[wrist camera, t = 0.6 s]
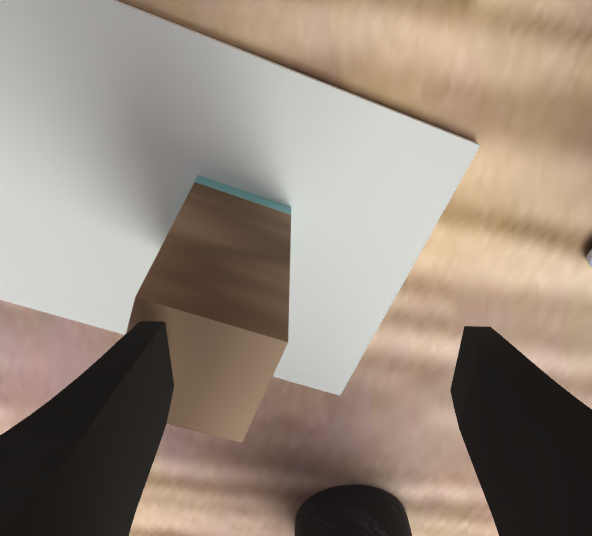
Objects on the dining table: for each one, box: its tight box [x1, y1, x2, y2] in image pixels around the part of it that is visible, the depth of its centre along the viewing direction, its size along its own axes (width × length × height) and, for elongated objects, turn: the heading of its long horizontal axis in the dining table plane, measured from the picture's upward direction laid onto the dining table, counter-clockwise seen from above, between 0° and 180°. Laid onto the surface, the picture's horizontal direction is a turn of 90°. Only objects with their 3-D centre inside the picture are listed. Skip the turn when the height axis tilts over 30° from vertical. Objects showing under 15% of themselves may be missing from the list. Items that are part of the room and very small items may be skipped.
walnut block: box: [126, 175, 291, 443], centre depth 18 cm, size 4×4×9 cm
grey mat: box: [0, 0, 480, 395], centre depth 21 cm, size 18×14×1 cm
